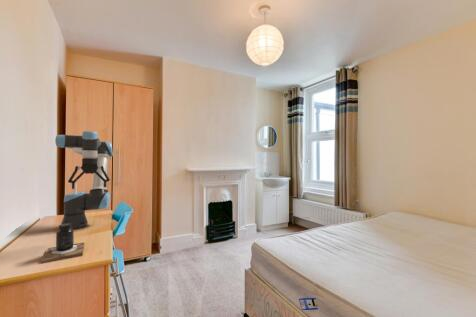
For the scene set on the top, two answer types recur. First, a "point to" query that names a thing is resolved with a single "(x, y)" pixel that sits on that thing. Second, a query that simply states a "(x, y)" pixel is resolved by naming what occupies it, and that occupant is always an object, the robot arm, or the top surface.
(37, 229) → the top surface
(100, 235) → the top surface
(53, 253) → the board
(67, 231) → the supplement bottle
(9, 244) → the top surface
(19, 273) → the top surface
